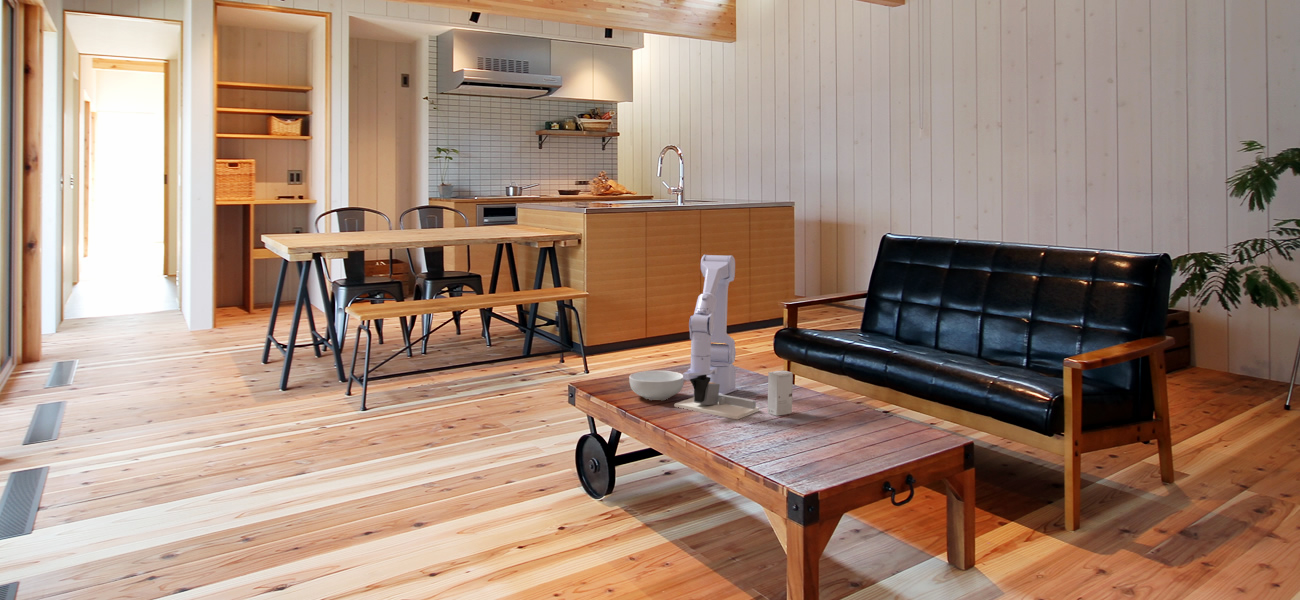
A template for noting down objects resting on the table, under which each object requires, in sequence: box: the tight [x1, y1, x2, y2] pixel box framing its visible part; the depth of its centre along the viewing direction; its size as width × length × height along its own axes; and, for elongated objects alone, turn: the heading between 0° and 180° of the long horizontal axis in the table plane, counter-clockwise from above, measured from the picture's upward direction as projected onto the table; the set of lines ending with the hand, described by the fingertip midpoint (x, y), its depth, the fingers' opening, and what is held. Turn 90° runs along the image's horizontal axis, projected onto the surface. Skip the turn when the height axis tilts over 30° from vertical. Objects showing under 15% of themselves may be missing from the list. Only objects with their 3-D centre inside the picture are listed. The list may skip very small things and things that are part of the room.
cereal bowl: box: [628, 370, 685, 401], centre depth 264 cm, size 17×17×7 cm
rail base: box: [674, 394, 760, 420], centre depth 251 cm, size 12×22×3 cm, turn 52°
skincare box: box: [767, 369, 794, 417], centre depth 245 cm, size 6×4×12 cm
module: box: [693, 382, 720, 405], centre depth 251 cm, size 6×4×6 cm
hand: (699, 401), depth 248 cm, fingers closed, pressing on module
